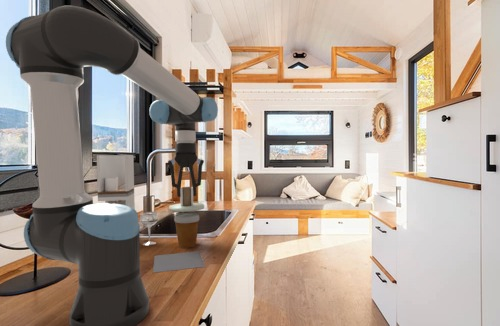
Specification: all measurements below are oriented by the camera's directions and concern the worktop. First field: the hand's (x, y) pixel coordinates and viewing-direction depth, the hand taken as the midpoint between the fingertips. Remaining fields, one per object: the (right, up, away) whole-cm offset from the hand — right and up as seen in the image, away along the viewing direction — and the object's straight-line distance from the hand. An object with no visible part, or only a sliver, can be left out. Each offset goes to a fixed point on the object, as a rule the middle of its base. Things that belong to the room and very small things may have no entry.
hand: (186, 204), depth 108 cm
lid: (0, -1, 0) cm, 1 cm away
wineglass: (-16, -16, +4) cm, 23 cm away
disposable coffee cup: (0, -16, 0) cm, 16 cm away
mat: (+1, -16, -16) cm, 23 cm away
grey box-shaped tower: (-29, -16, +6) cm, 33 cm away
